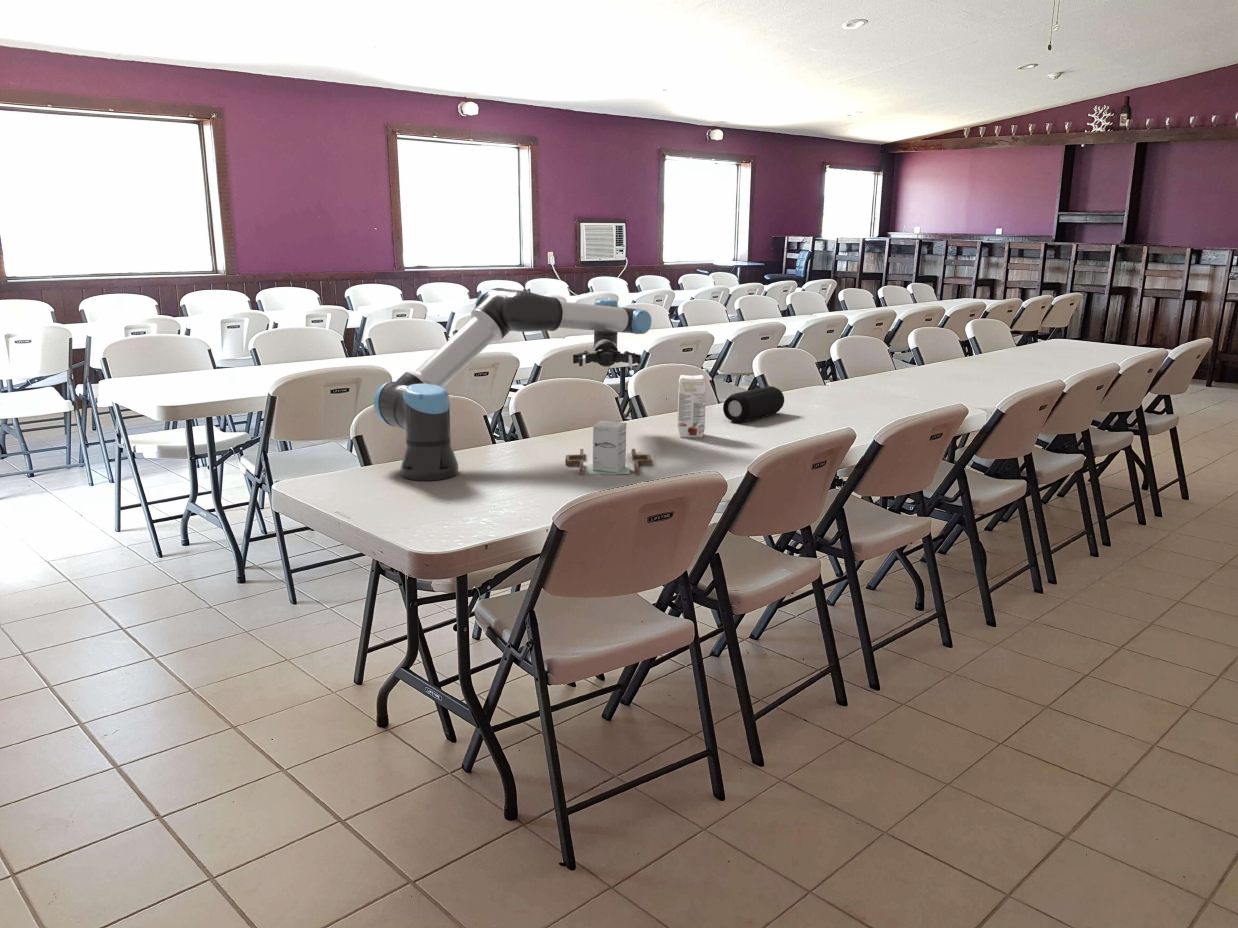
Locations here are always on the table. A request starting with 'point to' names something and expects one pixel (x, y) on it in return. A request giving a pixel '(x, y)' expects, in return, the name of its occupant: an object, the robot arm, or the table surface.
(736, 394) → the portable speaker
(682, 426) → the juice carton
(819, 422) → the table surface
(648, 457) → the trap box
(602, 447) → the supplement box
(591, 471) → the pad
